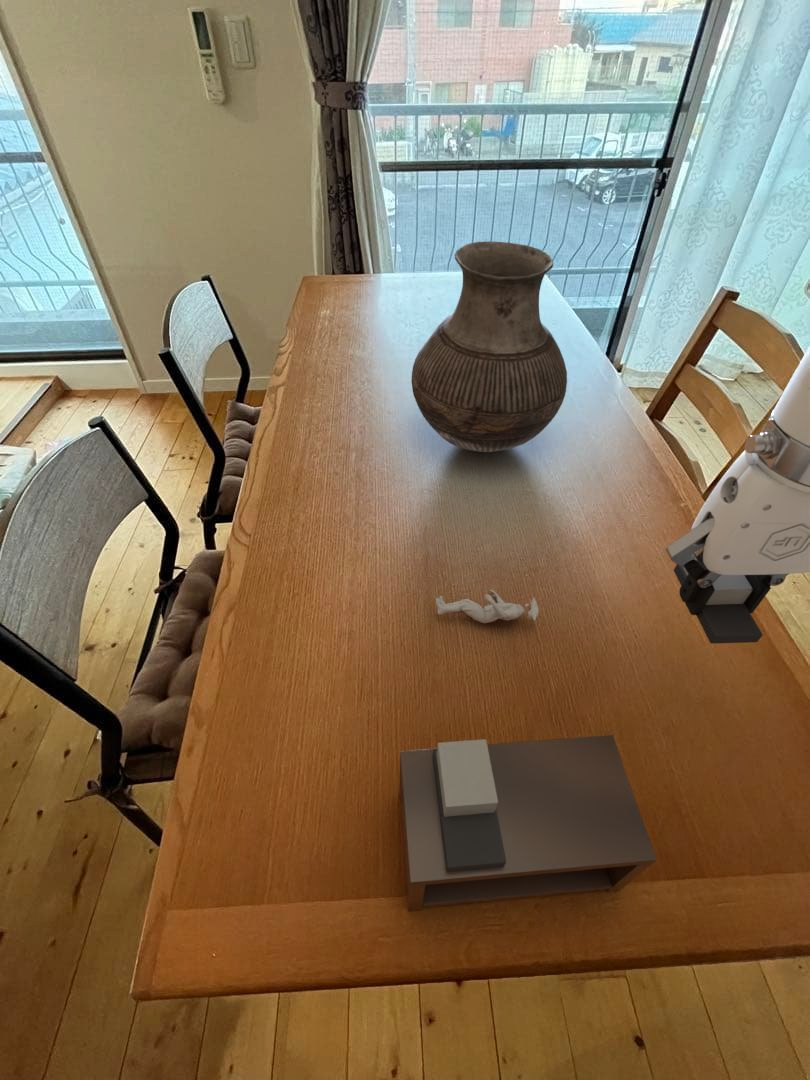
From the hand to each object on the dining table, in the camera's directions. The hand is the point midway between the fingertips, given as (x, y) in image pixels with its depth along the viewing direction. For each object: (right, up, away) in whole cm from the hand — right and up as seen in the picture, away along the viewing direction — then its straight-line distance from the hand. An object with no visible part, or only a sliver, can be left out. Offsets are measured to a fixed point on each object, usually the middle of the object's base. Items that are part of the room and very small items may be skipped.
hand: (715, 601), depth 54 cm
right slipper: (0, 0, 0) cm, 1 cm away
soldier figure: (-20, -4, +17) cm, 26 cm away
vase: (-17, +24, +43) cm, 52 cm away
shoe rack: (-21, -22, -1) cm, 31 cm away
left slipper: (-25, -16, -9) cm, 31 cm away
